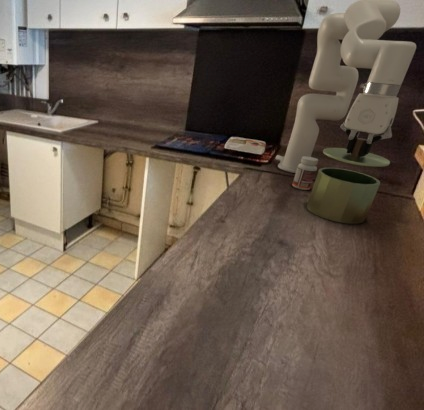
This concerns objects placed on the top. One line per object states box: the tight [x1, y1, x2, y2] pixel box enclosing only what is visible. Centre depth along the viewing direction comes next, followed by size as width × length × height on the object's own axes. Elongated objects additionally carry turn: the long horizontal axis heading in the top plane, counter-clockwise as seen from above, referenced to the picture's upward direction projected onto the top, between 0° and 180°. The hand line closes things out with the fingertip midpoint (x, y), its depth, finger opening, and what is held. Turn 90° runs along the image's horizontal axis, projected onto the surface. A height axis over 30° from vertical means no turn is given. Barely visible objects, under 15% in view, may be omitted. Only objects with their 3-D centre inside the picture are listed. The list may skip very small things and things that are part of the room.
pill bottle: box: [291, 156, 319, 191], centre depth 132 cm, size 6×6×11 cm
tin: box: [306, 167, 381, 225], centre depth 111 cm, size 16×16×12 cm
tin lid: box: [322, 137, 391, 168], centre depth 106 cm, size 17×17×6 cm
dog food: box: [223, 136, 267, 156], centre depth 181 cm, size 30×18×5 cm, turn 152°
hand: (356, 153), depth 106 cm, fingers closed on tin lid, 2 cm apart
